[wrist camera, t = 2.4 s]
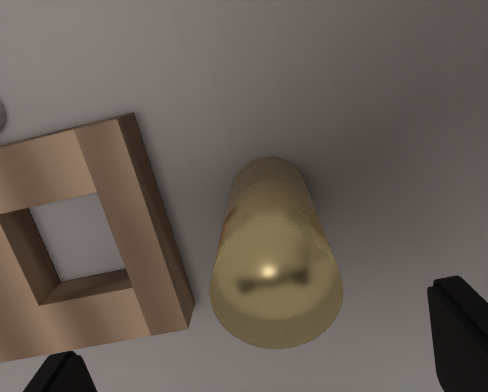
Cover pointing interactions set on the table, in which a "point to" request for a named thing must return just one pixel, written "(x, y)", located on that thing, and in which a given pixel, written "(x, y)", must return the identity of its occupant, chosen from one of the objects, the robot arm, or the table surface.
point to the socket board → (124, 231)
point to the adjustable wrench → (2, 116)
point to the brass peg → (274, 260)
